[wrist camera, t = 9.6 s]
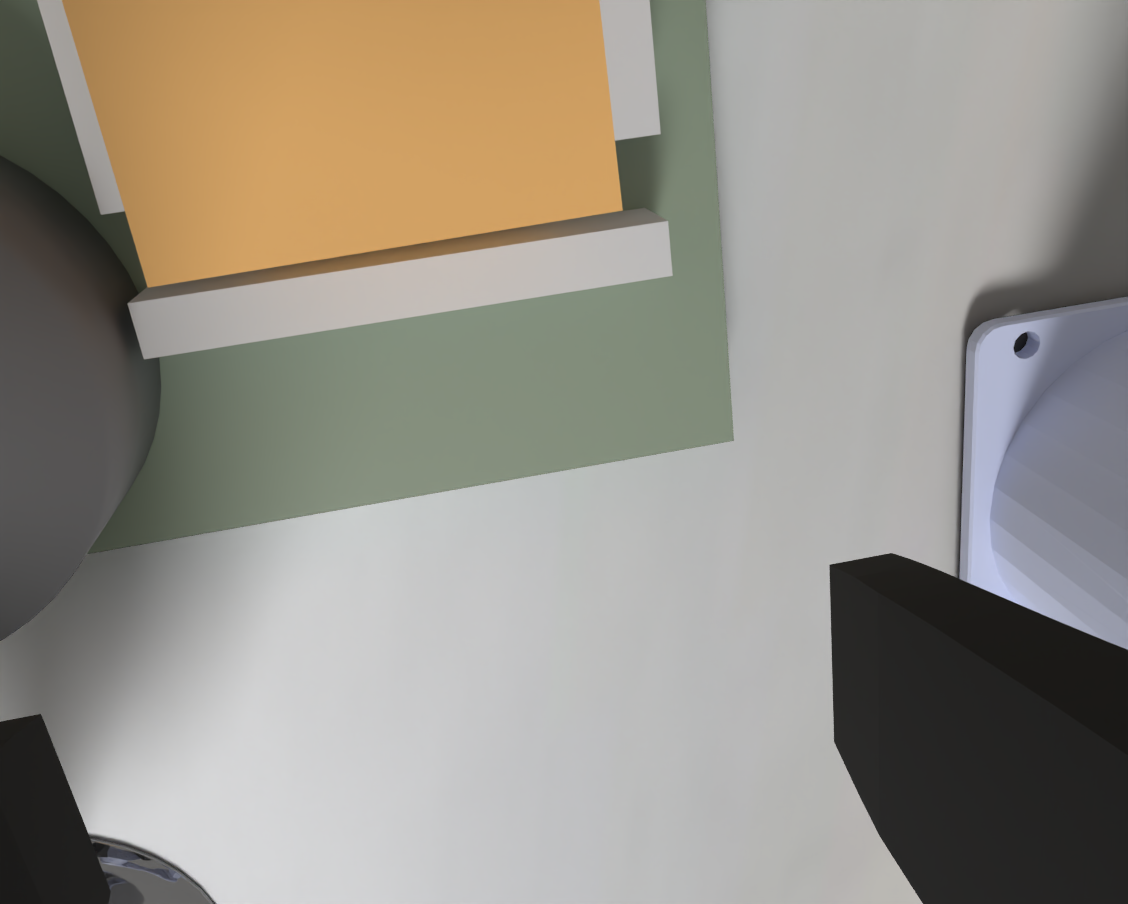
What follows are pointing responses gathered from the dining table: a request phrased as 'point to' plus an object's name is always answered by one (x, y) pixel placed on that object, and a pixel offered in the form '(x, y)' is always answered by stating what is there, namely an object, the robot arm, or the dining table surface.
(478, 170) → the tan rectangular prism
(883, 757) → the robot arm
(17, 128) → the pale green tray
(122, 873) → the wine glass
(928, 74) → the dining table surface
